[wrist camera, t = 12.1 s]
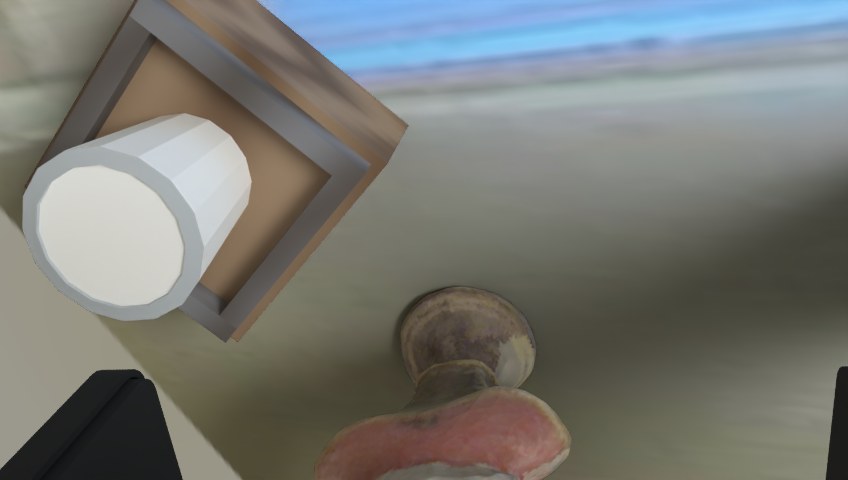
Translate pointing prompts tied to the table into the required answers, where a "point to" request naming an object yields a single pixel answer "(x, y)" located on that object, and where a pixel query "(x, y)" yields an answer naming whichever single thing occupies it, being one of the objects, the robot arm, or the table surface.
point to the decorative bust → (457, 402)
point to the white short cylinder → (136, 214)
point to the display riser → (243, 134)
